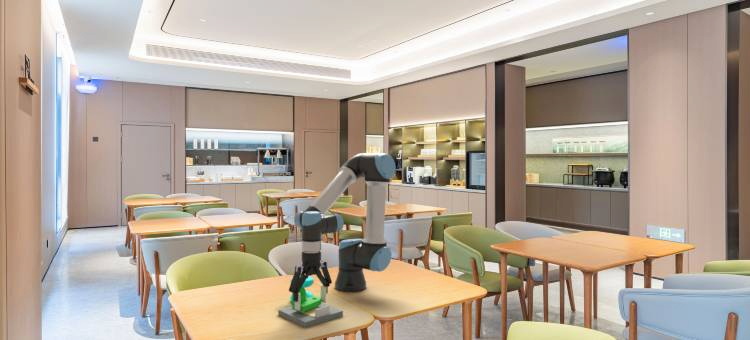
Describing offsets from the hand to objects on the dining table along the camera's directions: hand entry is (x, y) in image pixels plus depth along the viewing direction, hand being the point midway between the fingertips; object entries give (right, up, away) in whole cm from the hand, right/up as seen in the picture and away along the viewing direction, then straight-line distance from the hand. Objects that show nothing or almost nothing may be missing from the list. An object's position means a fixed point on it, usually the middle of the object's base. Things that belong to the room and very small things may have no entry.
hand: (310, 305), depth 174 cm
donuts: (-6, -3, +18) cm, 19 cm away
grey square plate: (0, -4, 0) cm, 4 cm away
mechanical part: (-1, -1, +1) cm, 2 cm away
